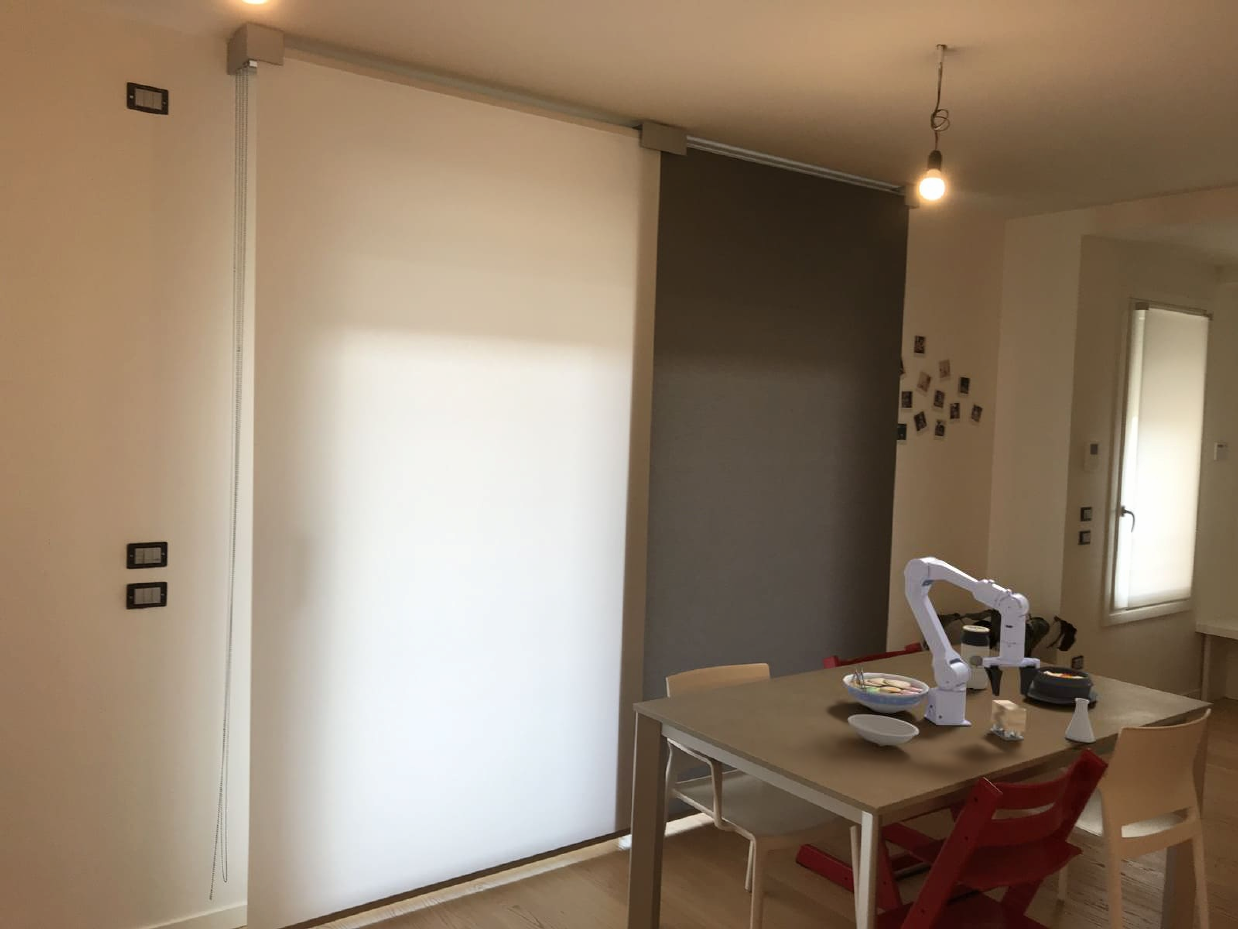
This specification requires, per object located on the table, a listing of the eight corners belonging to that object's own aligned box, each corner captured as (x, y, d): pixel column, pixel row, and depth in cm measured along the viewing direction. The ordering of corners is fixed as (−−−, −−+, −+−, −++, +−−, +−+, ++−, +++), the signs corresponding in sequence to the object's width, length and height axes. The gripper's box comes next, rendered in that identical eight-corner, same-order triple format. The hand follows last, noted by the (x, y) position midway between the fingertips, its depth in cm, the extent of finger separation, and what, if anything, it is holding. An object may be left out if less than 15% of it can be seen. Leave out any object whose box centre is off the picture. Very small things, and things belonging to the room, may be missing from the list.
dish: (833, 740, 231) (834, 720, 231) (868, 730, 240) (869, 711, 240) (896, 761, 218) (897, 740, 218) (930, 750, 227) (931, 729, 227)
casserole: (1068, 714, 263) (1070, 684, 263) (1007, 697, 278) (1009, 669, 278) (1113, 702, 278) (1115, 674, 278) (1053, 687, 293) (1054, 660, 293)
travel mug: (960, 681, 295) (963, 624, 294) (987, 685, 291) (991, 627, 291) (957, 687, 287) (960, 628, 287) (985, 691, 284) (988, 632, 283)
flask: (1068, 732, 246) (1070, 694, 246) (1098, 739, 242) (1101, 700, 241) (1060, 738, 241) (1063, 699, 240) (1091, 745, 236) (1094, 705, 236)
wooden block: (991, 721, 245) (992, 700, 245) (1007, 721, 245) (1008, 700, 245) (1008, 731, 236) (1009, 710, 236) (1025, 731, 237) (1026, 710, 237)
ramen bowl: (933, 727, 245) (935, 696, 245) (843, 718, 250) (844, 688, 249) (922, 701, 269) (924, 673, 269) (840, 694, 274) (841, 666, 274)
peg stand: (1005, 740, 237) (1005, 730, 237) (989, 730, 245) (990, 721, 244) (1023, 740, 238) (1024, 730, 238) (1007, 730, 245) (1008, 721, 245)
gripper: (993, 645, 236) (991, 699, 236) (1048, 645, 237) (1045, 699, 238) (979, 639, 243) (976, 691, 243) (1032, 639, 244) (1029, 691, 245)
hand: (1009, 695), depth 241 cm, fingers open, 7 cm apart
